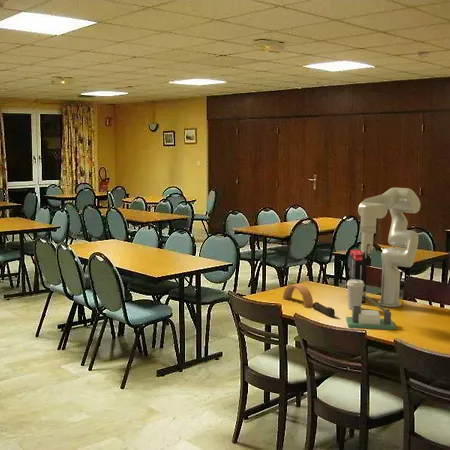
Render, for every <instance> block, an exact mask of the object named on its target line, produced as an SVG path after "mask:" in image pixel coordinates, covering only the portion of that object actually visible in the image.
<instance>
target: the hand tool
mask: <svg viewBox="0 0 450 450" xmlns="http://www.w3.org/2000/svg"><path fill="white" fill-rule="evenodd" d="M312 308H313V309H314V310H316V311H318V312H320V313H323V314H324V315H326V317H328V318H333V319H335V315H336V314H335V309H334V308H333V307H329V306H328V307H327V306H325V305H323V304H321V303H319V302H318V301H317V302H316V301H315V302H313V306H312Z"/></svg>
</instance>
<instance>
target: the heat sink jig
mask: <svg viewBox="0 0 450 450" xmlns="http://www.w3.org/2000/svg"><path fill="white" fill-rule="evenodd" d="M384 309H385V310H387V311H388V312H386V313H385V312H384V311H383V312H384V313H383V318H381V314H380V312H379V310H371V309H370V310H369V309H368V310H367V309H362V308H361V309H360V306H352V310H351V316H346V317H345V318H346V319H345V321H346V323H347V328H352V329H354V328H355V329H372V330H375V329H376V330H389V331H391V330H394V331H396V328H397V327H396V325H395V323H394V321H393V319H392V312H391V310H390V309H386V308H384Z"/></svg>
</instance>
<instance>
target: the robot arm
mask: <svg viewBox="0 0 450 450" xmlns="http://www.w3.org/2000/svg"><path fill="white" fill-rule="evenodd" d="M414 191H415V190H413V189H411V188H409V187H408V188H407V187H391V188H388V190H386V191H385V192H384V193H382V194H378V195H375V196H371V197H367V198H365V199H363V201H361V202H360V203H359V205H358V208H357V212H358V215H359V216H360V229H359V230H360V231H359V232H360V233H361V239H360V243H361V244H360V250H361V251H362V252H363V257H362V262H363V263H364V266H366V267H371V266H372V253H373V249H374V234H376V233H377V219H383V218H385V217H386V216H387V214H388V210H389V214H390V216H391V224H390V228H389V233H388V238H387V242H388V244H389V245H390V246H392V247H385V248H384V249H383V250H382V251H381V254H380V258H381V265H382V266H381V267H382V270H381V271H382V272H381V290H380V291H381V292H380V293H381V294H380V299H379V300H378V301H377V304H379V305H380V306H381V307H387V308H399V307H401V306H402V302H401V301H400V286H401V272H400V269H399V268H398V267H404V268H411V267H412V266H413V265H414V263H415V259H416V253H417V250H418V245H419V234H418V232H417V231H415V230H410V229H409V230H408V224H409V223H408V218H406V216H405V214H404V213H407V214H408V213H409V214H417V213H418V212H420V209H421V200H420V198H419V197H418V195H417V194H416V193H415V192H414Z"/></svg>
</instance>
